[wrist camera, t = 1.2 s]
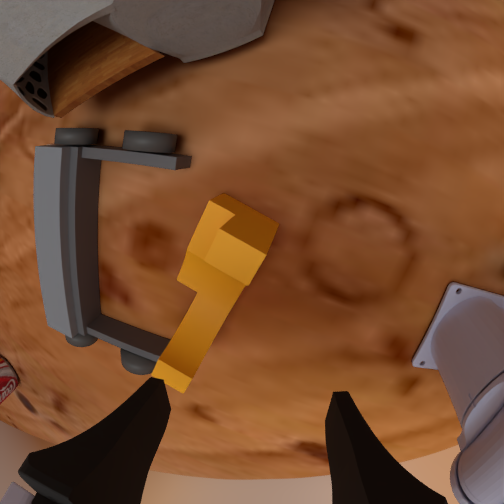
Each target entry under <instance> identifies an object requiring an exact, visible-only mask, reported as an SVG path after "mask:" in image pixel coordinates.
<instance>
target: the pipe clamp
mask: <svg viewBox="0 0 504 504" xmlns="http://www.w3.org/2000/svg"><path fill="white" fill-rule="evenodd" d="M278 226H279V223H277V222H275V221H274V220H272V219H270V218H268V217H267V216H265V215H263V214H261V213H259V212H258V211H256V210H254V209H252V208H250V207H249V206H247V205H245V204H243V203H241V202H240V201H238V200H236V199H234V198H232V197H230V196H229V195H227V194H225V193H223V194H221V195H219V196H217V197H215V198H213V199H211V200H209V202H208V204H207V207H206V209H205V211H204V213H203V215H202V217H201V219H200V221H199V224H198V226H197V228H196V230H195V232H194V235H193V237H192V239H191V241H190V243H189V246H188V248H187V251H186V256H185V259H184V262H183V265H182V268H181V270H180V272H179V275H178V277H177V279H176V280H177V281H179V282H181V283H183V284H184V285H186V286H188V287H189V288H191V289H193V290H194V291H196V292H198V293H197V295H196V297H195V299H194V300H193V302H192V304H191V306H190V308H189V310H188V312H187V313H186V315H185V317H184V319H183V320H182V322H181V324H180V326H179V327H178V329H177V331H176V332H175V334H174V336H173V337H172V339H171V340H170V342H169V344H168V345H167V347H166V348H165V350H164V351H163V353H162V354H161V356H160V357H159V359H158V361H157V363H156V365H155V368H154V370H153V372H152V376H154V377H155V378H158V379H164V383H165V384H167V385H169V386H171V387H172V388H174V389H176V390H178V391H179V392H181V393H184V392H185V390H186V389H187V387H188V385H189V384H190V382H191V380H192V379H193V377H194V375H195V373H196V371H197V369H198V367H199V366H200V364H201V362H202V360H203V358H204V356H205V355H206V353H207V351H208V349H209V347H210V346H211V344H212V342H213V340H214V338H215V337H216V335H217V333H218V331H219V330H220V328H221V326H222V324H223V322H224V321H225V319H226V317H227V316H228V314H229V312H230V310H231V309H232V307H233V305H234V304H235V302H236V300H237V299H238V297H239V295H240V294H241V292H242V290H243V289H244V287H245V286H246V285H247V286H248V285H249V284H250V282H251V280H252V279H253V277H254V275H255V274H256V272H257V270H258V268H259V267H260V265H261V263H262V262H263V260H264V258H265V257H266V255H267V252H268V250H269V248H270V245H271V243H272V241H273V238H274V236H275V233H276V231H277V229H278Z"/></svg>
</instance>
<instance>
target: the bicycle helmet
mask: <svg viewBox="0 0 504 504" xmlns="http://www.w3.org/2000/svg"><path fill="white" fill-rule="evenodd" d="M273 4H274V0H0V80H2V81H3V82H4V83H5V84H6V85H7V86H8V87H10V88H11V89H12V90H13V91H14V92H15V93H16V94H17V95H18V96H19V97H20V98H21V99H22V100H23V101H24V102H25V103H26V104H28V105H29V106H30V107H31V108H32V109H33V110H35V111H37V112H39V113H41V114H43V115H45V116H48V117H52V118H54V117H55V116H56V117H60V118H62V117H63V116H64V115H66V114H67V113H69V112H70V111H71V110H73V109H74V108H76V107H77V106H79V105H80V104H82V103H83V102H84V101H86V100H88V99H89V98H91V97H92V96H94V95H95V94H97V93H98V92H100V91H102V90H103V89H105V88H107V87H108V86H110V85H112V84H113V83H115V82H117V81H118V80H120V79H122V78H124V77H126V76H127V75H129V74H131V73H133V72H135V71H137V70H138V69H140V68H142V67H144V66H146V65H148V64H150V63H152V62H154V61H156V60H158V59H160V58H162V57H165V56H164V55H162V54H161V53H159V52H162V53H165V54H168V55H171V56H174V57H177V58H179V59H180V60H181V61H183V62H184V63H186V62H191V61H195V60H199V59H203V58H206V57H210V56H213V55H216V54H219V53H222V52H225V51H227V50H230V49H233V48H235V47H238V46H240V45H243V44H245V43H247V42H250V41H252V40H254V39H256V38H258V37H260V36H263V33H264V30H265V27H266V24H267V21H268V18H269V15H270V13H271V10H272V7H273ZM158 51H159V52H158Z"/></svg>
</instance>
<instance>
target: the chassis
mask: <svg viewBox="0 0 504 504" xmlns="http://www.w3.org/2000/svg"><path fill="white" fill-rule="evenodd" d="M98 130H99V128H56V133H55V143H54V144H47V145H43V146H36V147H35V162H34V224H35V240H36V252H37V261H38V270H39V278H40V285H41V291H42V297H43V303H44V308H45V313H46V318H47V323H48V326H50V327H52V328H53V329H55V330H57V331H59V332H61V333H63V334H65V337H66V340H67V342H68V343H70V344H71V345H73V346H76V347H86V346H90V345H92V344H94V343H95V342H96V341H97V339H98V338H99V339H101V340H103V341H106V342H108V343H110V344H113V345H115V346H117V347H120V348H121V361H122V365H123V367H124V368H125V369H126V370H127V371H129V372H131V373H133V374H138V375H145V374H150V373H152V372H153V370H154V368H155V365H156V363H157V361H158V359H159V357H160V356H161V354H162V353H163V351H164V350H165V348H166V347H167V345H168V344H169V342H170V340H169V339H166V338H164V337H161V336H158V335H155V334H152V333H149V332H146V331H144V330H141V329H138V328H136V327H133V326H130V325H128V324H125V323H122V322H120V321H117V320H115V319H112V318H110V317H107V316H105V315H102V314H101V308H100V295H99V278H98V245H97V229H98V195H99V179H100V166H101V160H107V161H115V162H123V163H131V164H138V165H145V166H152V167H159V168H165V169H171V170H178V169H184V168H189V167H190V164H191V157H192V156H187V155H180V154H173V153H174V152H175V146H176V140H177V135H176V134H168V133H158V132H146V131H130V130H125V132H124V139H123V147H112V146H100V145H87V144H97V138H98Z"/></svg>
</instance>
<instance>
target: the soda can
mask: <svg viewBox="0 0 504 504" xmlns="http://www.w3.org/2000/svg"><path fill="white" fill-rule="evenodd" d="M17 386H18V381H17V375H16V373H15V371H14V369H13V368H12V367H11V365H10V364H9V363H8V362H7V361H6V360H5V359H4V358H1V357H0V404H1V403H2V402H3V401H4V400H5V399H6V398H7V397H8V396H9V395H10V394H11V393H12V392H13V391H14V390H15V388H16V387H17Z"/></svg>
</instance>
